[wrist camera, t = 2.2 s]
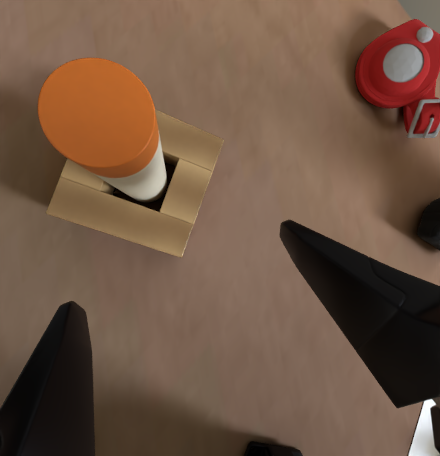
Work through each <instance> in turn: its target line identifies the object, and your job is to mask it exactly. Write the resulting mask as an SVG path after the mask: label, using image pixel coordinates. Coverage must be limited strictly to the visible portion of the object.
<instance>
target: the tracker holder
mask: <svg viewBox="0 0 440 456" xmlns="http://www.w3.org/2000/svg"><path fill="white" fill-rule="evenodd" d="M439 71H440V34H438V33H437V32H435V31H434V30H432V29H431V28H429V27H428V26H427V25H425V24H424V23H422V22H421V21H420V20H417V19H414V20H410V21H408V22H406V23H404V24H402V25H400V26H398V27H395V28H393V29H391V30H390V31H388V32H386V33H384V34H382V35H381V36H379V37H378V38H377V39H375V40H374V41H372V42H371V43H370V44H369V45H368V46H367V47H366V48H365V50H364V51H363V52H362V54H361V56H360V58H359V60H358V62H357V66H356V71H355V79H356V84H357V87H358V90H359V92H360V93H361V95H362V96H363V97H364V98H365V99H366V100H367V101H368V102H370V103H371V104H373V105H376V106H378V107H382V108H398V107H402V106H403V114H404V123H405V129H406V131H407V133H408V134H407V137H408V138H435V137H436V136H437V134H438V131H439V129H440V99H439V98H436V97H435V86H436V79H437V77H438V74H439Z"/></svg>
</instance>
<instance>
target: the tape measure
mask: <svg viewBox="0 0 440 456" xmlns="http://www.w3.org/2000/svg"><path fill="white" fill-rule="evenodd" d="M417 235H418V236H419V237H420V238H421V239H423V240H424V241H426V242H428V243H430V244H432V245H433V246H435V247H436V248H437V249H438V250H440V198H438V199H436V200H434V201H433V202H431V203H430V205H428V206H427V207H426V209H425V210H424V212H423V215H422V220H421V224H420V226H419V228H418V232H417Z"/></svg>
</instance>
